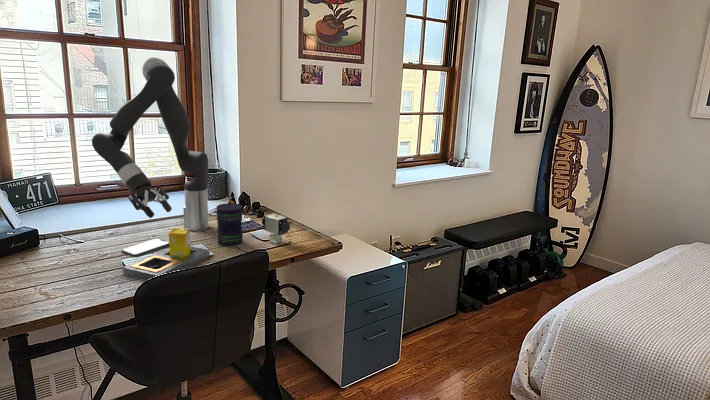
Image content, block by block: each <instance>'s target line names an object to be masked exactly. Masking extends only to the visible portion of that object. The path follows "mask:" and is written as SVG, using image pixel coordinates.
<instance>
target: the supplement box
mask: <svg viewBox="0 0 710 400" xmlns="http://www.w3.org/2000/svg"><path fill="white" fill-rule="evenodd" d="M168 242H169V247H168V248H170V256H173V257H178V258H184V257H186V256H188V255H190V254H191V249H190V246H191V230H190V229H189V228H184V227H182V228H180V227H174V228H172V229H171V230H170V231H169V232H168Z"/></svg>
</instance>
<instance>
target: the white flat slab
mask: <svg viewBox="0 0 710 400" xmlns="http://www.w3.org/2000/svg"><path fill="white" fill-rule="evenodd" d="M167 248H169V240H164V239H161V238H153V239H150V240H148V241H144V242H141V243H138V244H135V245H132V246H129V247H124V248H123V249H121V253H122V254H125V255H127V256H130V257H132V258H138V257H141V256H144V255H148V254H150V253H153V252H158V251H161V250H164V249H167Z"/></svg>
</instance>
